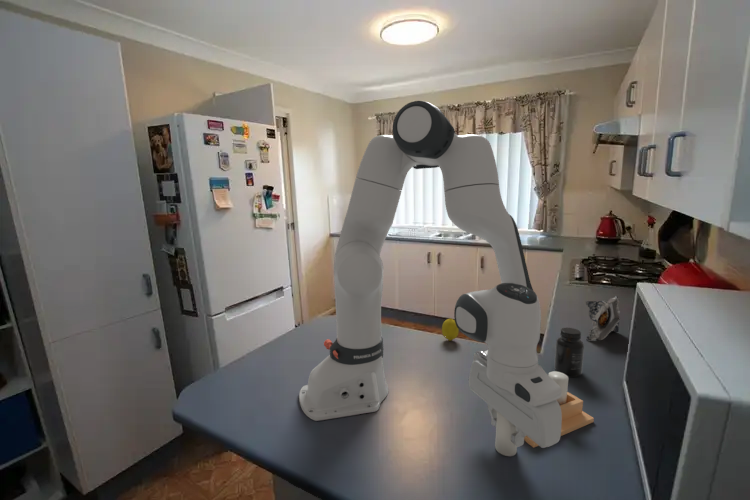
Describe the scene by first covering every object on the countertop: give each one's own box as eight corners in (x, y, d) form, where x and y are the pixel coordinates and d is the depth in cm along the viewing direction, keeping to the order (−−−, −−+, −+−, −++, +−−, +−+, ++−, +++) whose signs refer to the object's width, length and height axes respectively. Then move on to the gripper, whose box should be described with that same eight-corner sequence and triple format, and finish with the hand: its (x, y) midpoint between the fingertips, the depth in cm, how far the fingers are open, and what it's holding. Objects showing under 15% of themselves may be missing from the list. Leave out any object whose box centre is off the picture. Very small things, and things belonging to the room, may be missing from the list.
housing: (533, 447, 69) (536, 407, 67) (490, 412, 80) (492, 376, 78) (593, 422, 76) (597, 384, 75) (546, 393, 87) (549, 359, 85)
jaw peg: (505, 458, 66) (508, 421, 65) (490, 444, 70) (492, 409, 68) (521, 452, 68) (524, 415, 66) (506, 438, 71) (508, 403, 70)
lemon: (458, 345, 114) (459, 322, 112) (441, 343, 115) (441, 320, 113) (458, 337, 119) (458, 315, 118) (441, 336, 120) (442, 314, 119)
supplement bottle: (580, 367, 99) (584, 328, 96) (583, 379, 93) (587, 337, 90) (553, 362, 102) (556, 324, 99) (554, 374, 95) (557, 333, 93)
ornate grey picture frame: (605, 329, 124) (609, 294, 122) (618, 333, 121) (623, 297, 118) (581, 338, 117) (585, 301, 115) (594, 343, 113) (599, 305, 111)
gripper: (462, 349, 74) (460, 408, 76) (543, 404, 55) (536, 478, 58) (486, 344, 76) (483, 401, 79) (570, 394, 58) (563, 466, 60)
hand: (506, 434), depth 68 cm, fingers closed on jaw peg, 4 cm apart
